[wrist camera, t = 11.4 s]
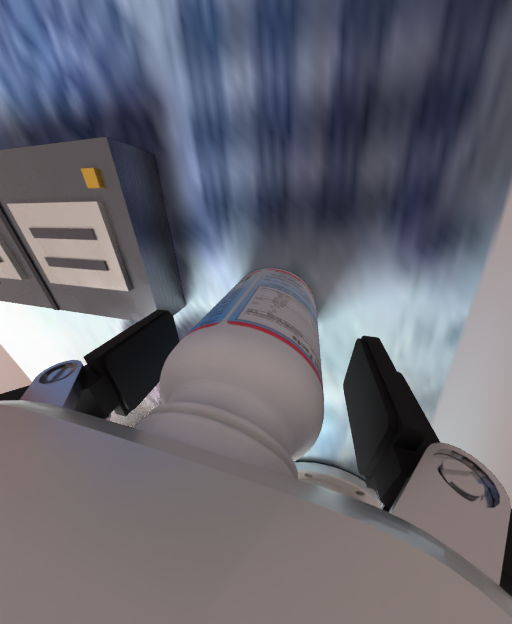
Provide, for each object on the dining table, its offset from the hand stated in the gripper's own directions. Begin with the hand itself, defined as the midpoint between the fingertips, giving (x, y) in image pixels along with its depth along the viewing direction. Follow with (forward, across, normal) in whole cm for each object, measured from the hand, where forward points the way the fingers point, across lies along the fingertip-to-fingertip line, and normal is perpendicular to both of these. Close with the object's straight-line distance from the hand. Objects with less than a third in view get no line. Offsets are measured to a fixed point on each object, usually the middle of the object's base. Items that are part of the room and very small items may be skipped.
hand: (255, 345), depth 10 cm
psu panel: (+5, +17, -4) cm, 18 cm away
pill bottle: (+5, 0, 0) cm, 5 cm away
